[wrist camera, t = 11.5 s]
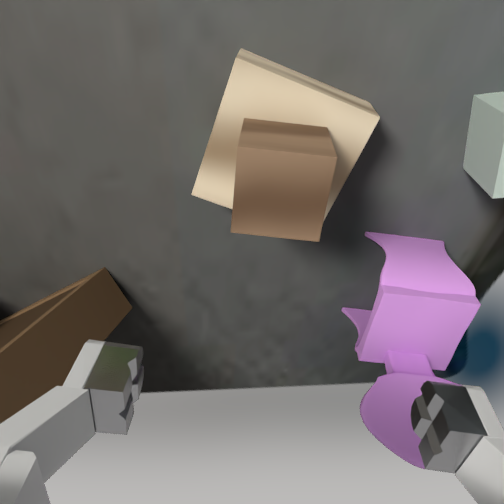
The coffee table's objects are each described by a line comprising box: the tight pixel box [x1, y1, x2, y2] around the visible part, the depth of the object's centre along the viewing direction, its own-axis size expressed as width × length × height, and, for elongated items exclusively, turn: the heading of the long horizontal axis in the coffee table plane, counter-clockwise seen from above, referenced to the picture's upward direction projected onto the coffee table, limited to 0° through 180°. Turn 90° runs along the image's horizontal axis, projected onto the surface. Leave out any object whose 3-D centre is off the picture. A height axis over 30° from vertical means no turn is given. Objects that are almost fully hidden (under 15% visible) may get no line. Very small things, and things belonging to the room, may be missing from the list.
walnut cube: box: [231, 118, 337, 242], centre depth 24 cm, size 5×5×5 cm
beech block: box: [191, 48, 380, 221], centre depth 28 cm, size 9×9×4 cm
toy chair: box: [341, 232, 481, 469], centre depth 29 cm, size 8×9×15 cm
